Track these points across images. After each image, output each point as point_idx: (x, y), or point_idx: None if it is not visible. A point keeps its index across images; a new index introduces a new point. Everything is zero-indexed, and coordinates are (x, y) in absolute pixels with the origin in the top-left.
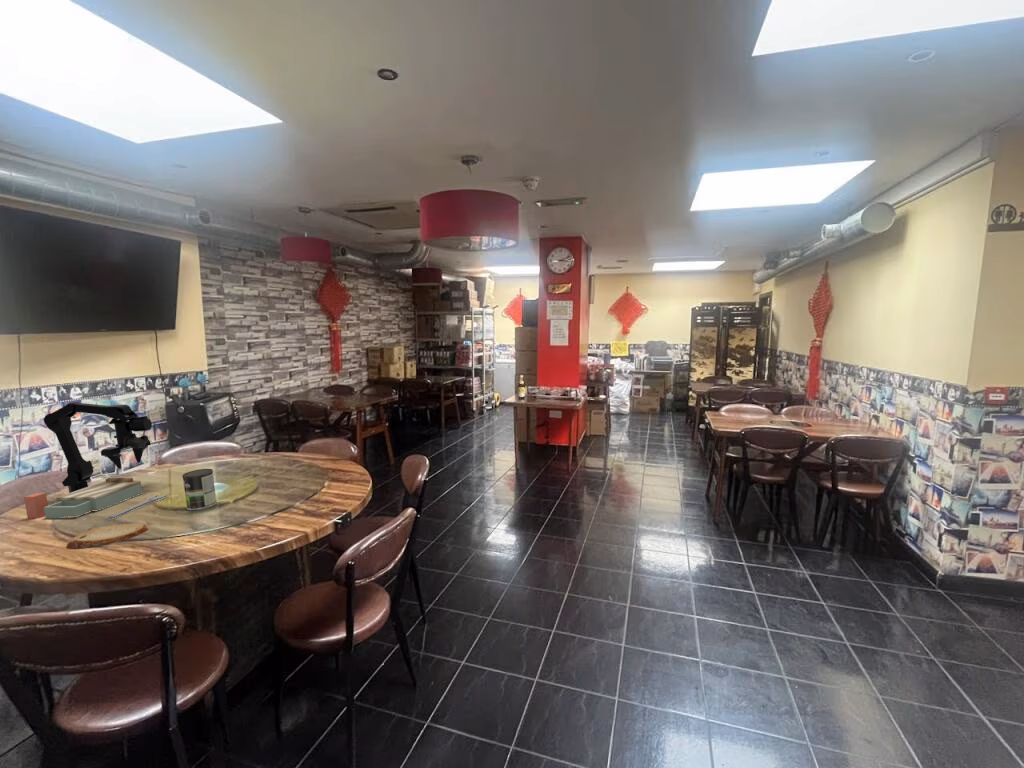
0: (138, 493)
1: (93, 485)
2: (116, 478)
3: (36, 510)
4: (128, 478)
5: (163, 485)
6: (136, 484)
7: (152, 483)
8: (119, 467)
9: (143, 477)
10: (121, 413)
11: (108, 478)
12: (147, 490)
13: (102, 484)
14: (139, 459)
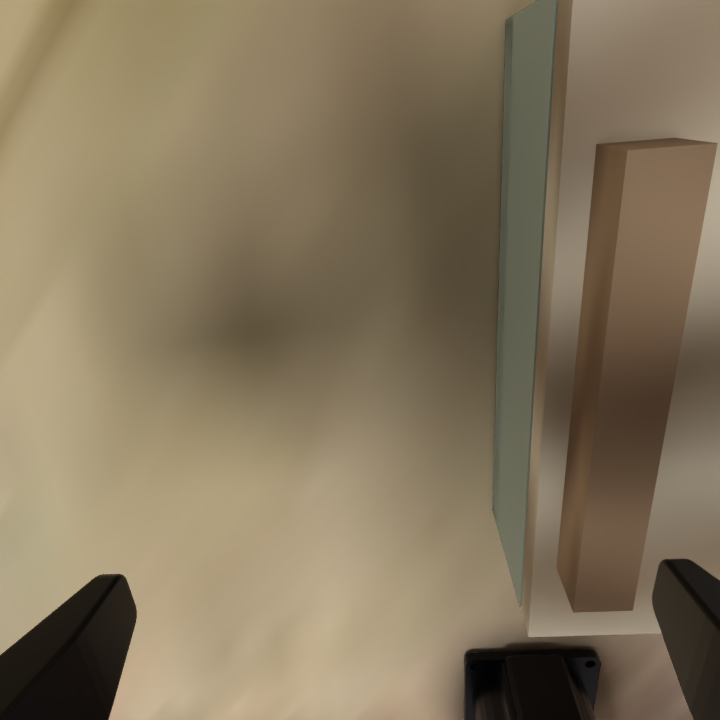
0: None
1: None
2: (613, 480)
3: None
4: (665, 211)
5: (142, 64)
6: None
7: (122, 340)
8: (712, 594)
9: (17, 620)
10: None
11: (591, 605)
12: (361, 109)
13: (692, 543)
14: (73, 637)
